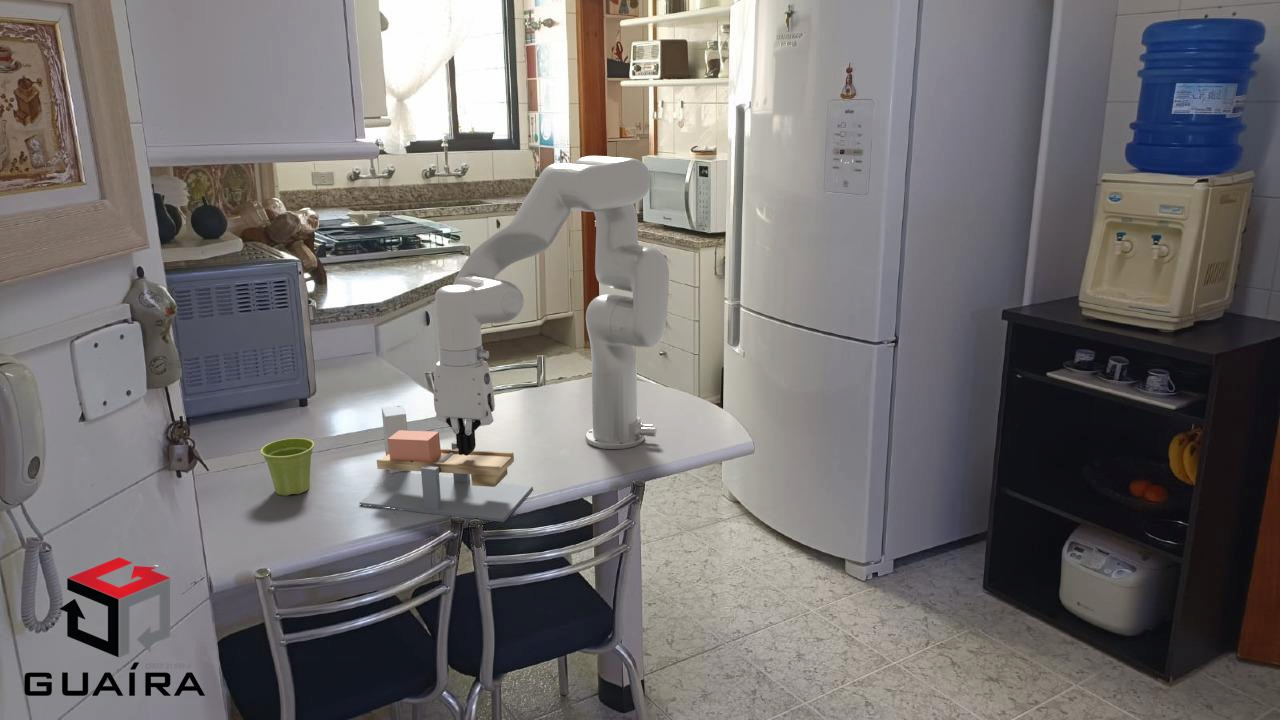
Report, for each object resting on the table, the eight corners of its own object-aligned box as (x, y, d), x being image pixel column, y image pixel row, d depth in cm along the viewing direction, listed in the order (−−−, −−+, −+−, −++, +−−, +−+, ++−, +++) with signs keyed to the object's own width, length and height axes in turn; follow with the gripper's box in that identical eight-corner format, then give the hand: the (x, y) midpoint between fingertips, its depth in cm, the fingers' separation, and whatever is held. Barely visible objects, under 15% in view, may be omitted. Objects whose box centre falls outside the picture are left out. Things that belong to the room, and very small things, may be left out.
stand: (532, 489, 178) (531, 447, 175) (503, 522, 164) (501, 477, 162) (398, 474, 184) (395, 434, 182) (359, 505, 171) (355, 462, 169)
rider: (441, 454, 174) (438, 431, 173) (430, 463, 170) (427, 440, 169) (401, 452, 176) (399, 430, 175) (390, 461, 172) (387, 438, 171)
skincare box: (385, 462, 190) (381, 406, 187) (407, 459, 192) (403, 404, 188) (389, 473, 185) (384, 416, 182) (411, 470, 186) (406, 413, 183)
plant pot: (292, 503, 172) (287, 459, 169) (254, 494, 176) (249, 451, 173) (329, 484, 180) (325, 442, 177) (292, 476, 184) (287, 434, 181)
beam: (518, 469, 175) (516, 448, 174) (496, 492, 165) (494, 470, 164) (401, 463, 181) (399, 442, 180) (374, 484, 171) (371, 463, 170)
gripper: (508, 352, 167) (512, 449, 172) (431, 347, 171) (438, 441, 176) (491, 364, 160) (496, 464, 165) (411, 358, 164) (419, 456, 169)
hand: (466, 452), depth 171 cm, fingers closed
